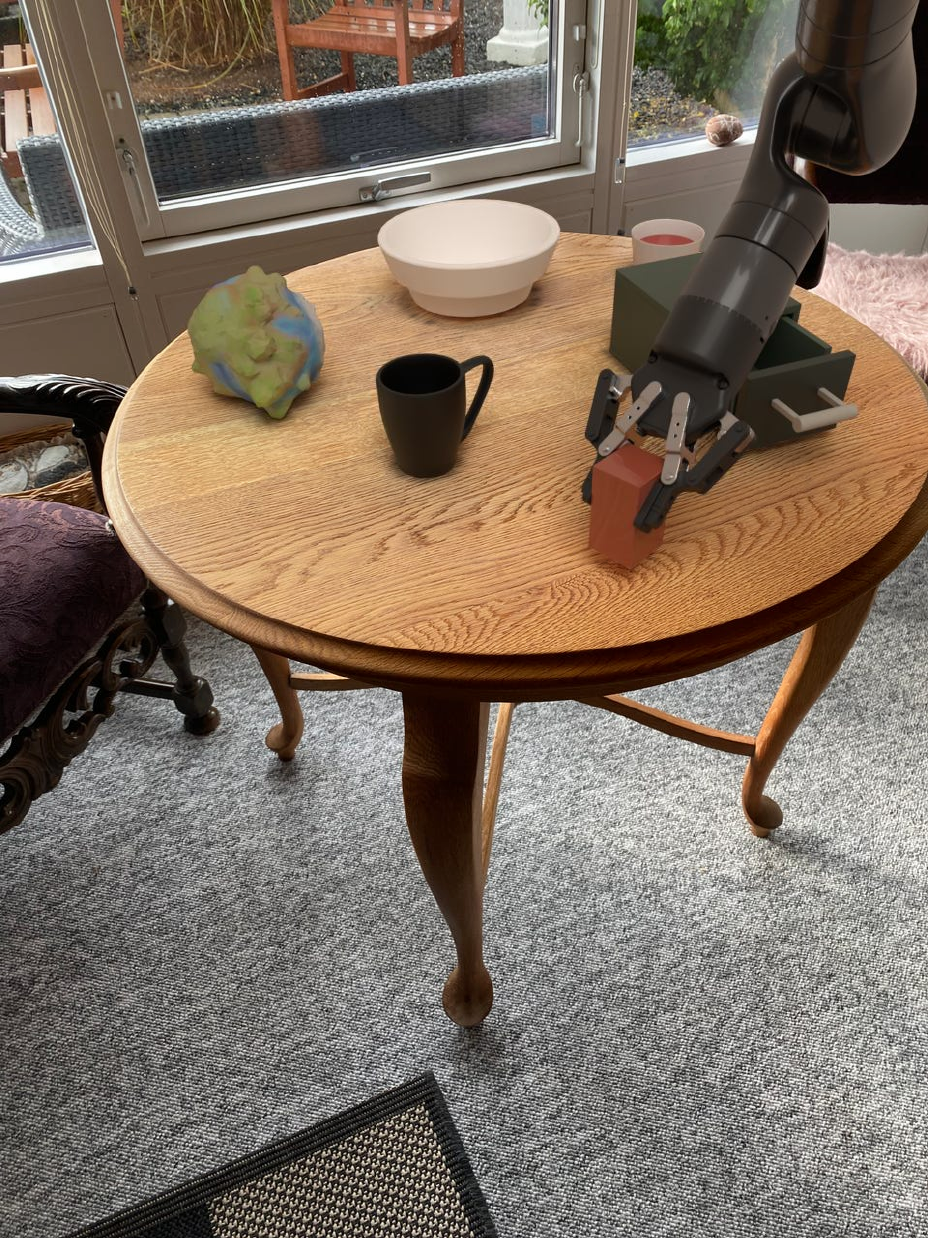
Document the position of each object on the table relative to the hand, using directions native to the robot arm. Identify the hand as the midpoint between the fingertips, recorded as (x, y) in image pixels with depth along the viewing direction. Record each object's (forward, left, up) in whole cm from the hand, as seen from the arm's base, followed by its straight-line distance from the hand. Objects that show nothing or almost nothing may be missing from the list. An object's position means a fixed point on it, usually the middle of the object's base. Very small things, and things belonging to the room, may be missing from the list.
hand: (615, 516), depth 70 cm
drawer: (-7, -28, -5) cm, 29 cm away
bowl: (+33, -47, -6) cm, 57 cm away
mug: (+21, -12, -6) cm, 24 cm away
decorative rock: (+44, -15, -6) cm, 46 cm away
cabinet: (+2, -37, -6) cm, 37 cm away
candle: (+11, -59, -6) cm, 60 cm away
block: (-1, -2, -4) cm, 5 cm away
